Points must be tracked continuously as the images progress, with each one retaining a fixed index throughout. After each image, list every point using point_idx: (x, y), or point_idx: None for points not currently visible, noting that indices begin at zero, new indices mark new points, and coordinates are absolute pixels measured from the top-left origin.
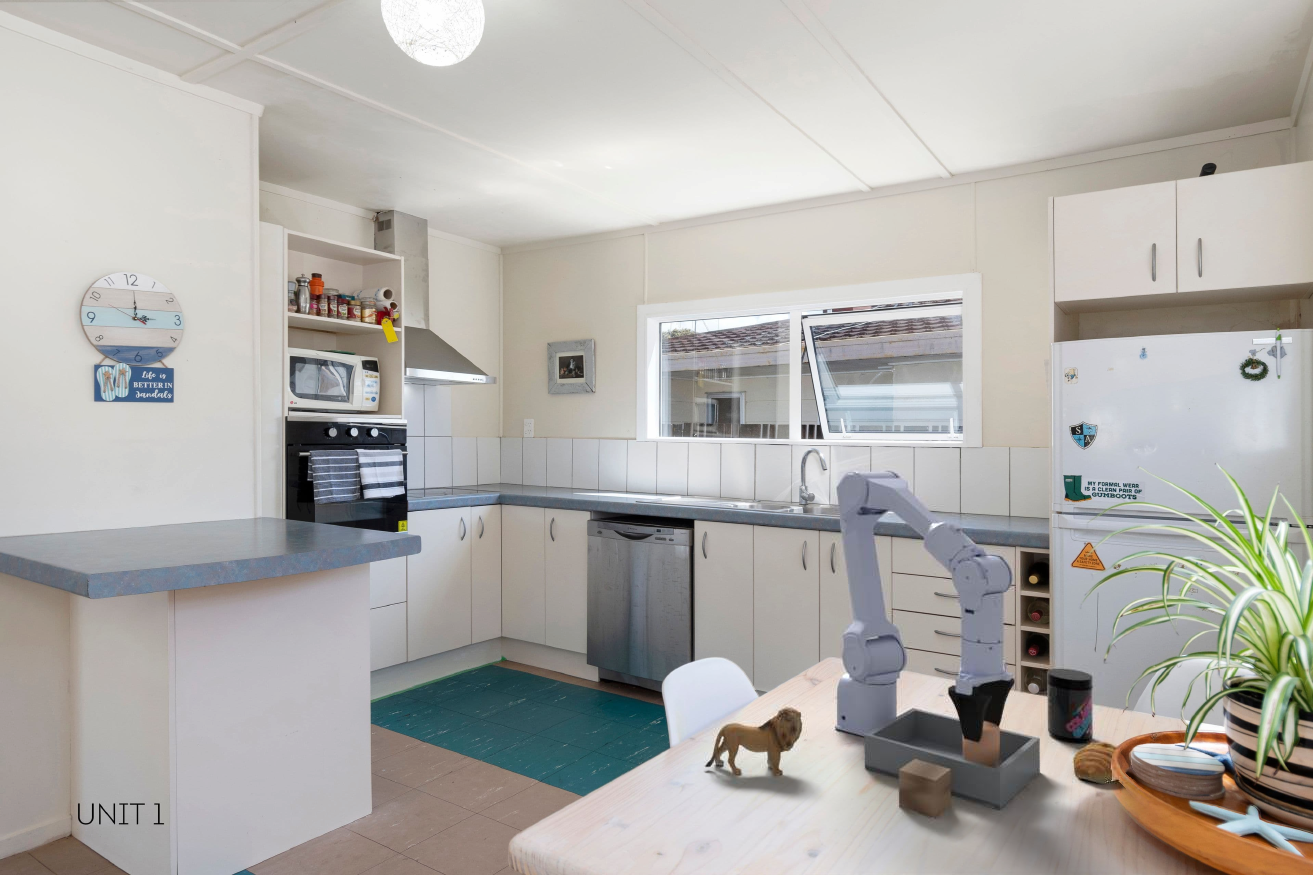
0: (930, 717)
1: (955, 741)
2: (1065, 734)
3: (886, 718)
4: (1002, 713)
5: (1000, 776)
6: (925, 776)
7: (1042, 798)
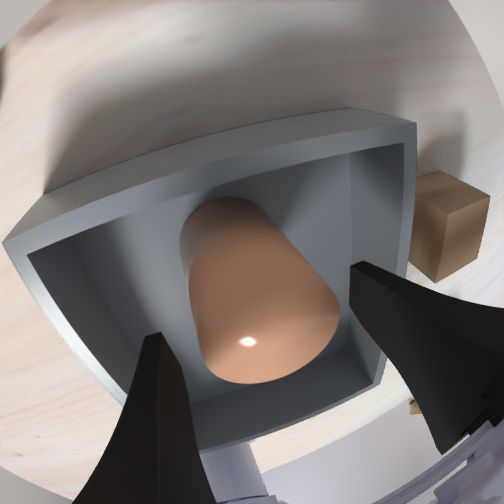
0: None
1: None
2: None
3: None
4: (135, 376)
5: (403, 120)
6: (484, 216)
7: (200, 73)
